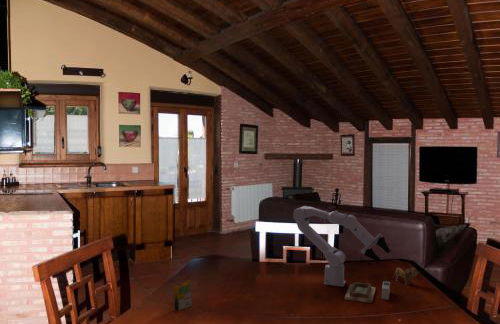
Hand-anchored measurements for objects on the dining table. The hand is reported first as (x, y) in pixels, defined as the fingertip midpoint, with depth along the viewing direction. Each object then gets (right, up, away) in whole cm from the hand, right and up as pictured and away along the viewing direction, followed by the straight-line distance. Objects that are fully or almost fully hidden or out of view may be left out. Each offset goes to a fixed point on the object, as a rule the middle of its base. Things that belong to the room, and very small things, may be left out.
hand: (384, 256), depth 199 cm
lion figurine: (+15, -17, +14) cm, 26 cm away
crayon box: (-92, -18, -19) cm, 96 cm away
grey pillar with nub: (-1, -17, -4) cm, 18 cm away
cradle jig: (-12, -17, -2) cm, 21 cm away
